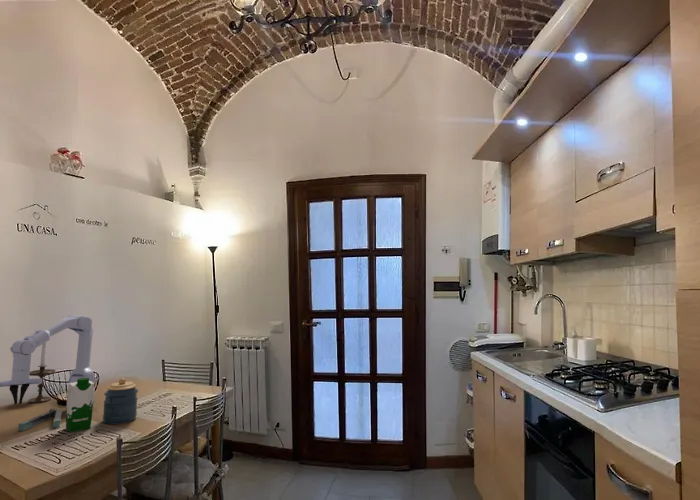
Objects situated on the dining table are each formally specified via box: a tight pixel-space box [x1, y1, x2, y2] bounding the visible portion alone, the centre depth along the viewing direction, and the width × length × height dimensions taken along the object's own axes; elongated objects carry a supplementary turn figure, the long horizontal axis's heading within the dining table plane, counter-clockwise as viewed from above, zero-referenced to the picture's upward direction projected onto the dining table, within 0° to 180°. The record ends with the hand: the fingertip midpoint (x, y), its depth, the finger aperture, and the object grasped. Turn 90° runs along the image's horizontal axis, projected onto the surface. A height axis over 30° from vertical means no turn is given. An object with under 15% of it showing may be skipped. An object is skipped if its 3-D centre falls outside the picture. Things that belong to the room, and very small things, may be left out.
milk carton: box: [65, 378, 95, 433], centre depth 166 cm, size 9×9×20 cm
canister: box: [102, 377, 139, 425], centre depth 178 cm, size 13×13×18 cm
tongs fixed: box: [48, 407, 63, 429], centre depth 173 cm, size 5×20×3 cm, turn 33°
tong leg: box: [17, 411, 52, 432], centre depth 170 cm, size 2×16×3 cm, turn 3°
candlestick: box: [27, 341, 56, 404], centre depth 205 cm, size 11×11×35 cm
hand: (18, 403), depth 166 cm, fingers closed
